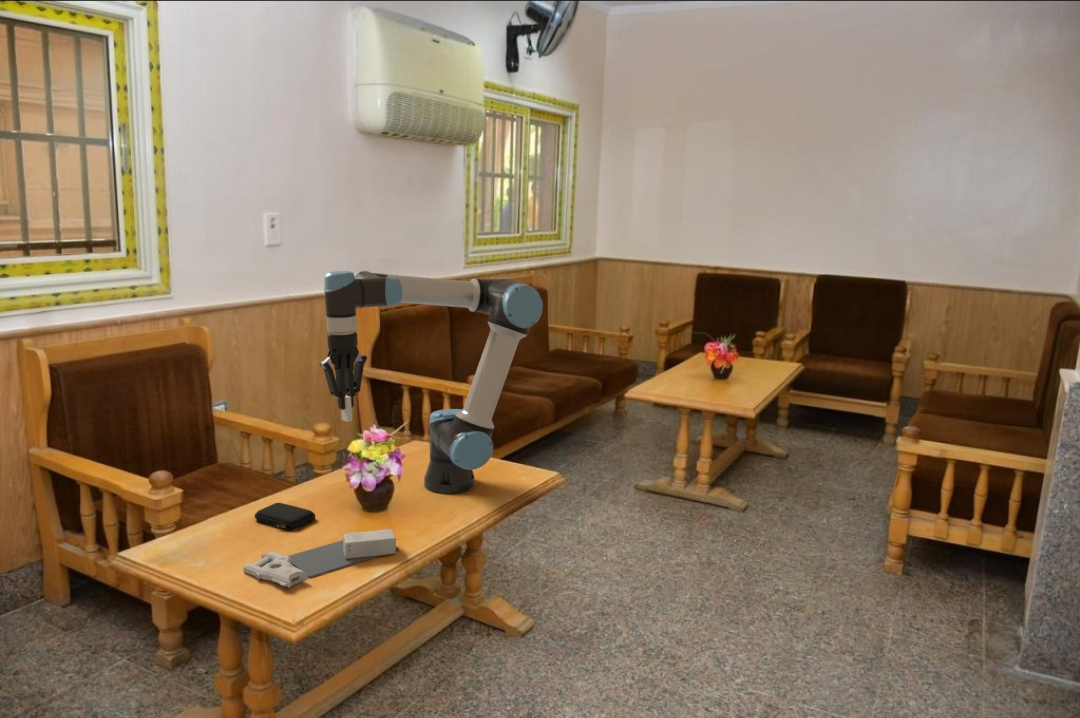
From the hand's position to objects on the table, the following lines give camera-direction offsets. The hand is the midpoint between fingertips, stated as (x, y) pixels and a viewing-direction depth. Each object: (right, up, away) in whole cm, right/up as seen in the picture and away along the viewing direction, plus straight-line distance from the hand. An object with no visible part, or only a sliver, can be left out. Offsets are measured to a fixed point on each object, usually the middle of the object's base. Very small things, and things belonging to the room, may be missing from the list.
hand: (346, 420), depth 220 cm
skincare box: (+3, -29, -18) cm, 34 cm away
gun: (-10, -34, -27) cm, 44 cm away
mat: (+3, -31, -16) cm, 35 cm away
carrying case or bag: (-17, -27, +3) cm, 33 cm away
